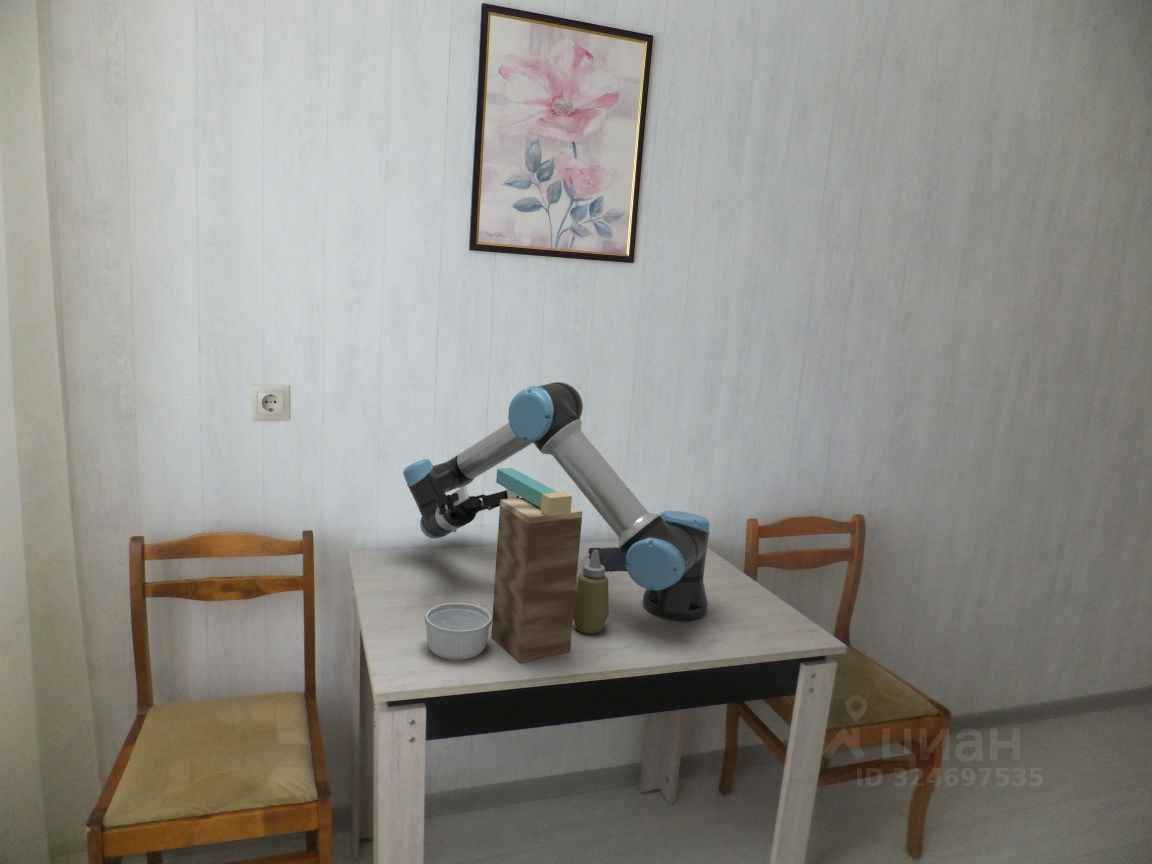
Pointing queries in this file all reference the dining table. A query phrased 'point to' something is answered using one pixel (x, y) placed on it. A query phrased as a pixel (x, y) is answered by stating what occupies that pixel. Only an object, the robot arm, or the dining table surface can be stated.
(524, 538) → the post
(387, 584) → the dining table surface
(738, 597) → the dining table surface
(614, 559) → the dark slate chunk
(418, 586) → the dining table surface
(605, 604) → the squeeze bottle
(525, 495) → the peg
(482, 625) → the ramekin
